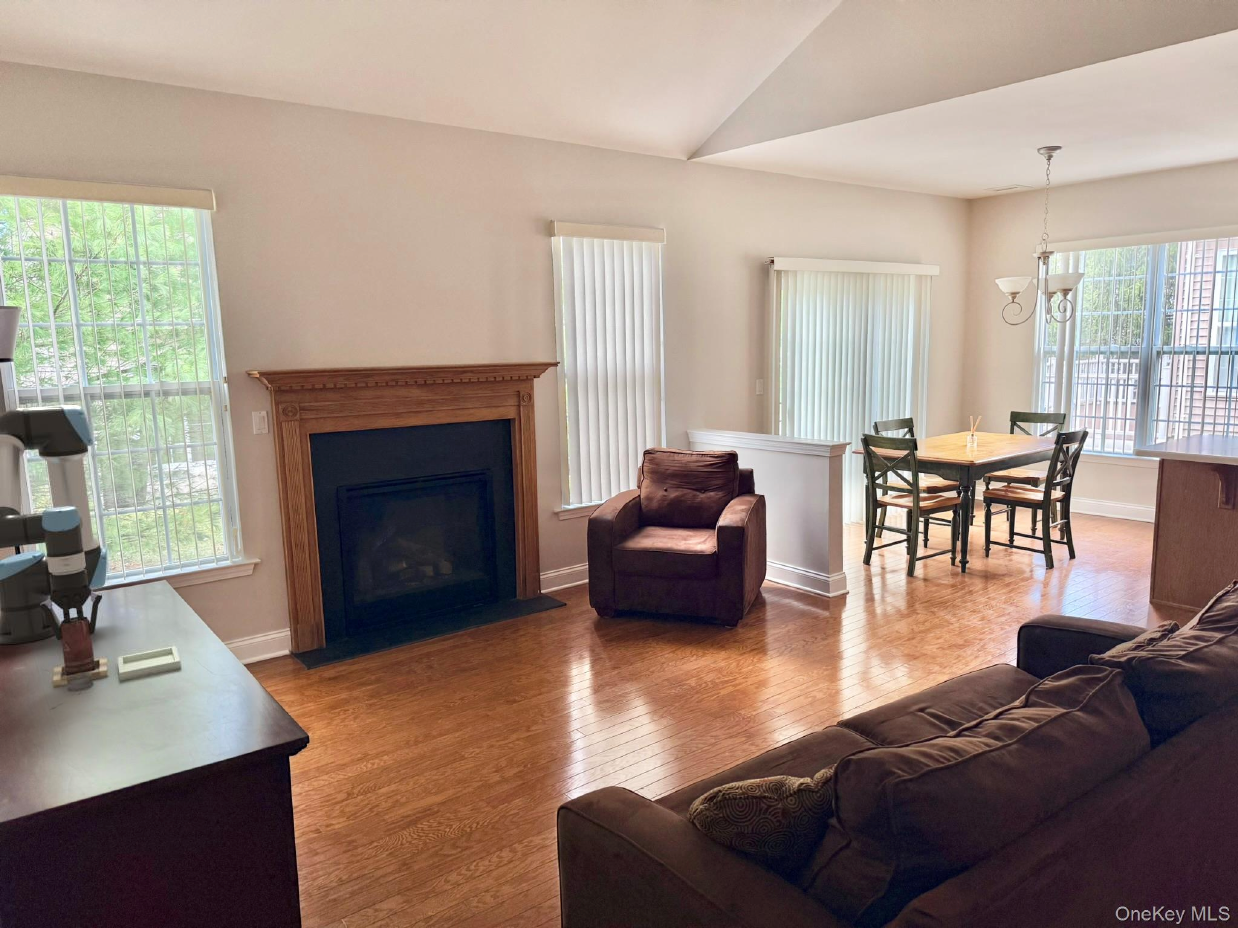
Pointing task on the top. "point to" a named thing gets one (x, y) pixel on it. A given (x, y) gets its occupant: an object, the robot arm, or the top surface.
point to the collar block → (80, 676)
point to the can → (77, 646)
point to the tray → (148, 663)
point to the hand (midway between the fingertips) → (80, 664)
